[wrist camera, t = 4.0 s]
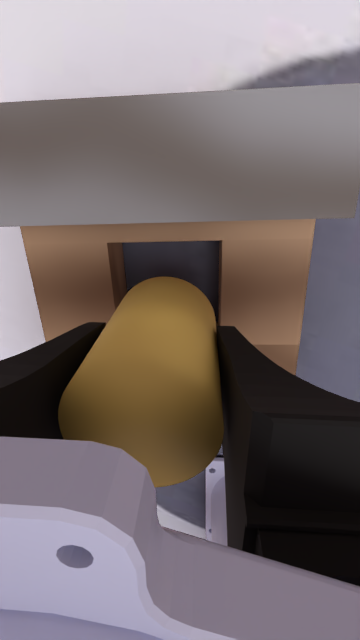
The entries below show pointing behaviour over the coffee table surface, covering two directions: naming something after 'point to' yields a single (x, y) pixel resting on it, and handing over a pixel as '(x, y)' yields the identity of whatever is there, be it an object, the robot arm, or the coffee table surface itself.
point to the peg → (152, 382)
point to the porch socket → (181, 195)
